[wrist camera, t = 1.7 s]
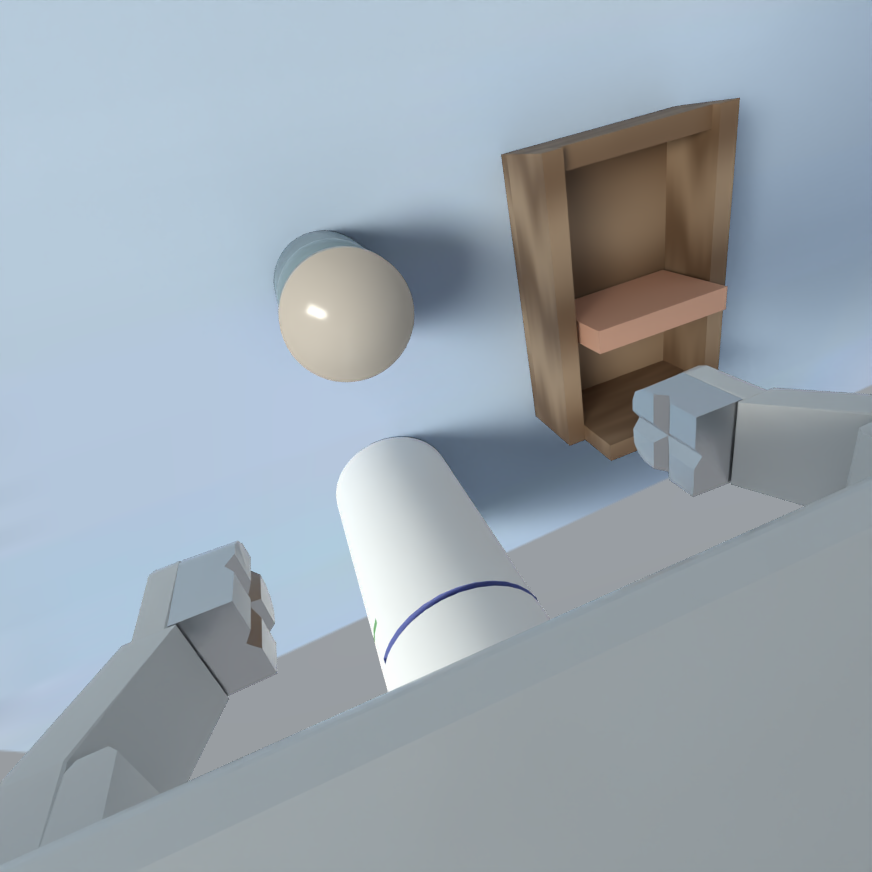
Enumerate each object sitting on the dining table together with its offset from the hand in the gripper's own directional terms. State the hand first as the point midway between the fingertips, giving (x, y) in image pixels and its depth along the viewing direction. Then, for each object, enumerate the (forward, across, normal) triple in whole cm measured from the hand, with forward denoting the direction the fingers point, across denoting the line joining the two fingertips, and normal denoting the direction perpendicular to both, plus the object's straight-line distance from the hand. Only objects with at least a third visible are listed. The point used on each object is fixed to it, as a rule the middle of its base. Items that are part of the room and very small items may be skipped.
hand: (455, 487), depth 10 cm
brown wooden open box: (+18, -15, +3) cm, 24 cm away
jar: (+18, 0, -1) cm, 18 cm away
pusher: (+18, -15, +5) cm, 23 cm away
